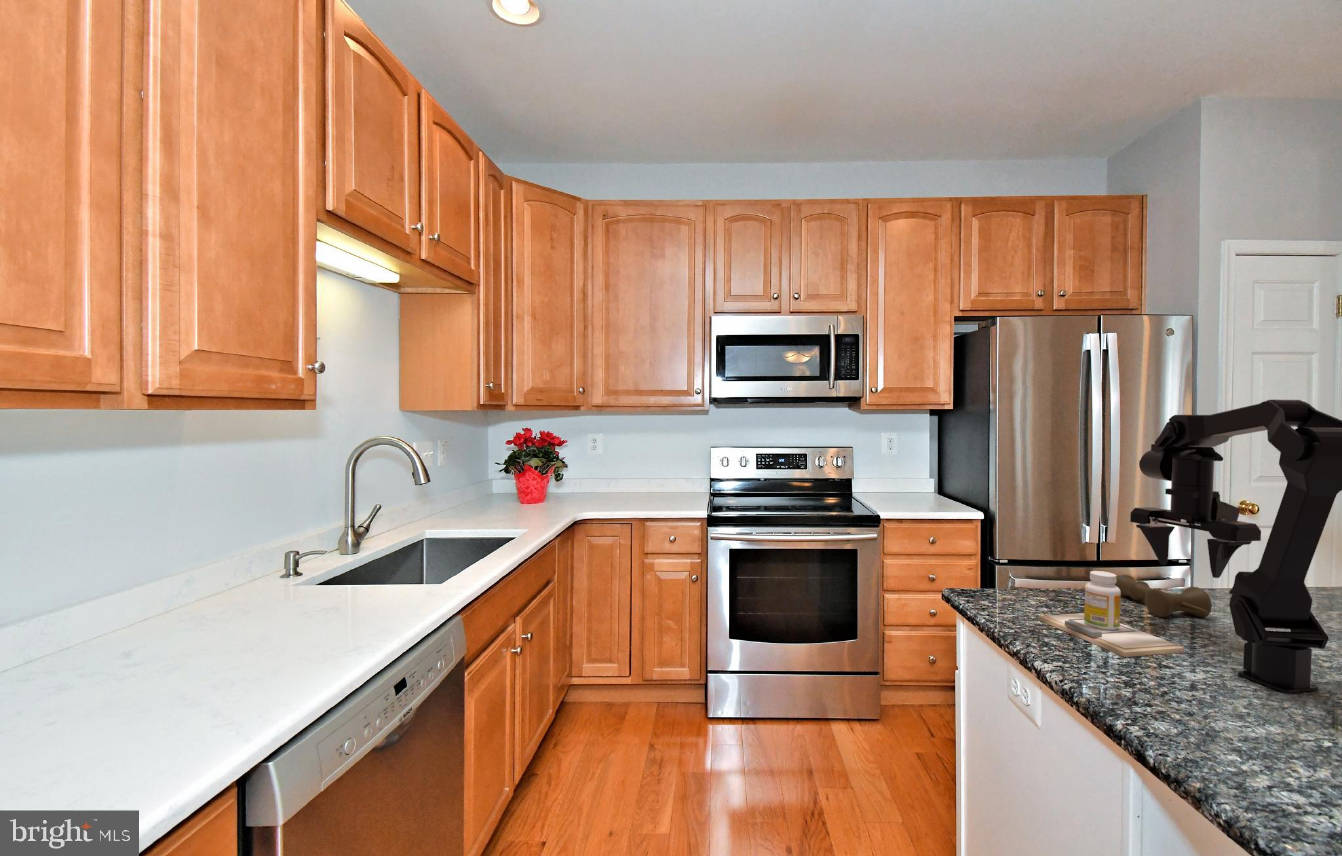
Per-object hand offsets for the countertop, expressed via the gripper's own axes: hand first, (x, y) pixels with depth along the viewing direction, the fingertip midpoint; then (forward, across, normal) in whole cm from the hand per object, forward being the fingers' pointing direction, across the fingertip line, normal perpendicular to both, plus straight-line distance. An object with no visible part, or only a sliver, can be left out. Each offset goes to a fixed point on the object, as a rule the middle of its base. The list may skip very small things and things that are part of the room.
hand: (1188, 570), depth 110 cm
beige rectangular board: (+12, +3, +14) cm, 19 cm away
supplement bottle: (+11, +5, +13) cm, 18 cm away
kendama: (+12, +14, -11) cm, 21 cm away
